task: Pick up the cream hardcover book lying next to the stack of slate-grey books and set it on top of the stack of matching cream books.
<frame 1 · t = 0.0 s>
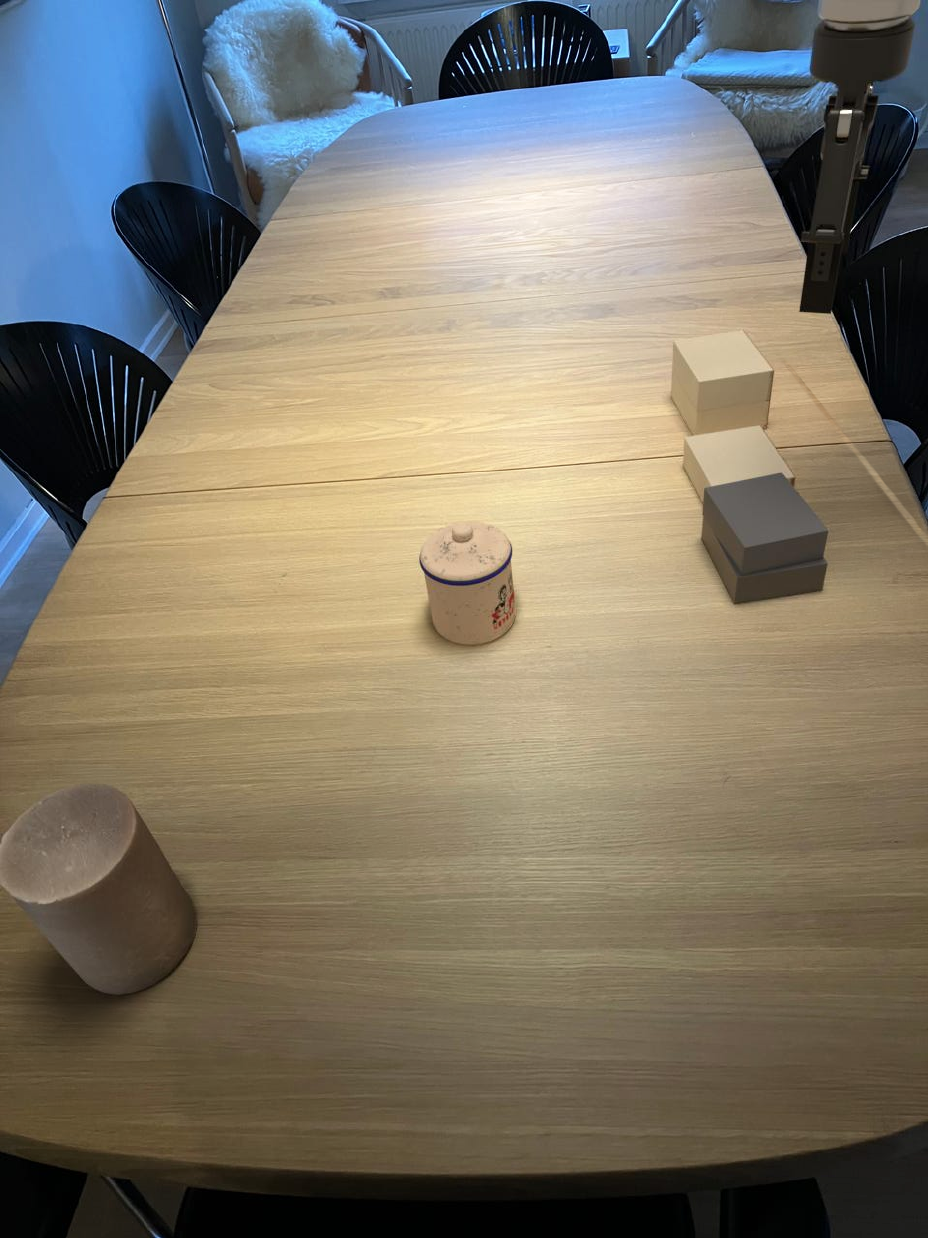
hand: (824, 279, 88), 25 cm above the table, tool pointing down, fingers open, 13 cm apart
pillar candle: (137, 938, 73), on the table
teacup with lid: (476, 609, 96), on the table
grey books: (759, 563, 96), on the table
cream books: (716, 412, 119), on the table
cream book: (734, 485, 107), on the table
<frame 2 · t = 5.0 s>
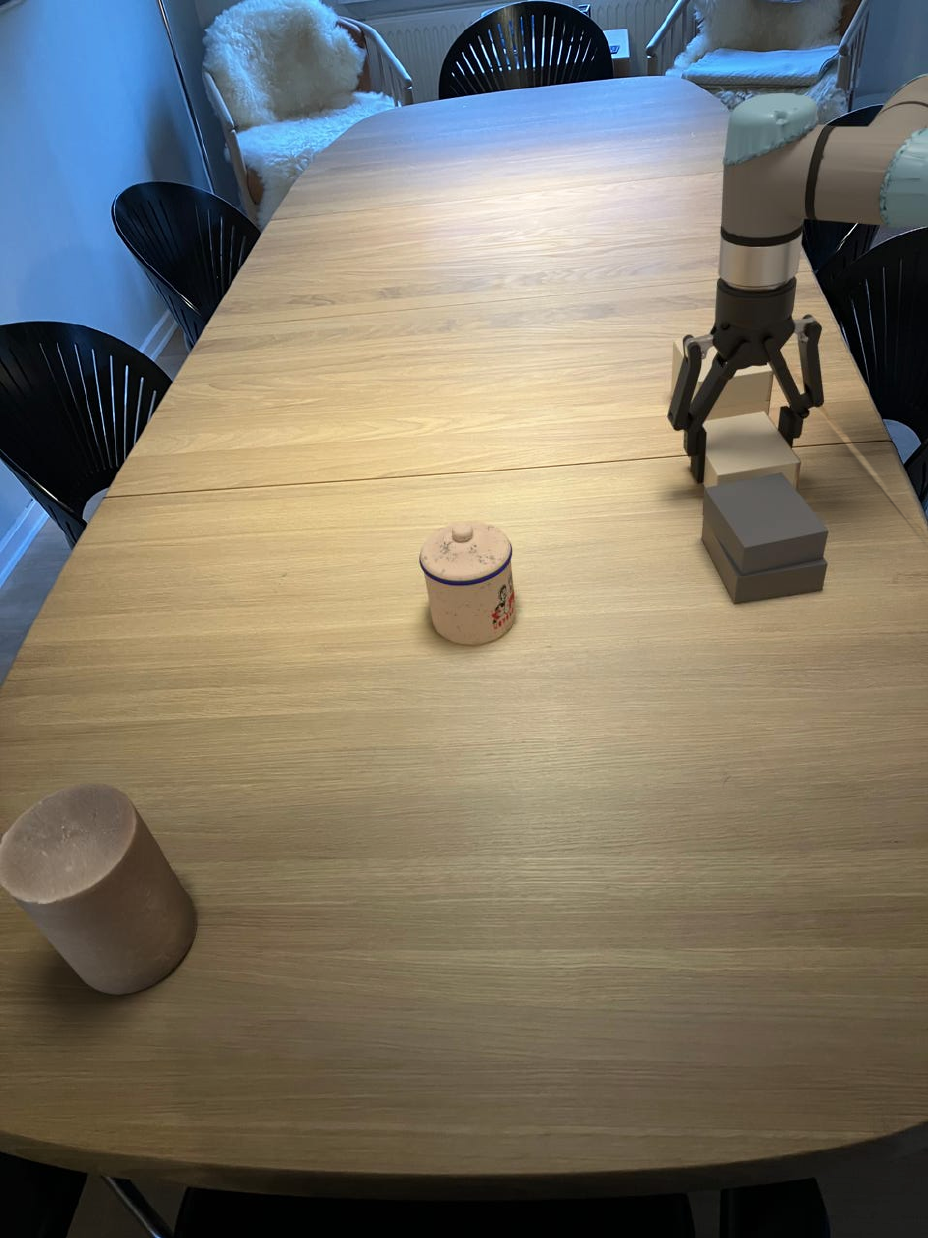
hand: (739, 469, 105), 2 cm above the table, tool pointing down, fingers closed on cream book, 9 cm apart
cream book: (738, 471, 105), point 2 cm above the table, touching gripper
everything else where it was.
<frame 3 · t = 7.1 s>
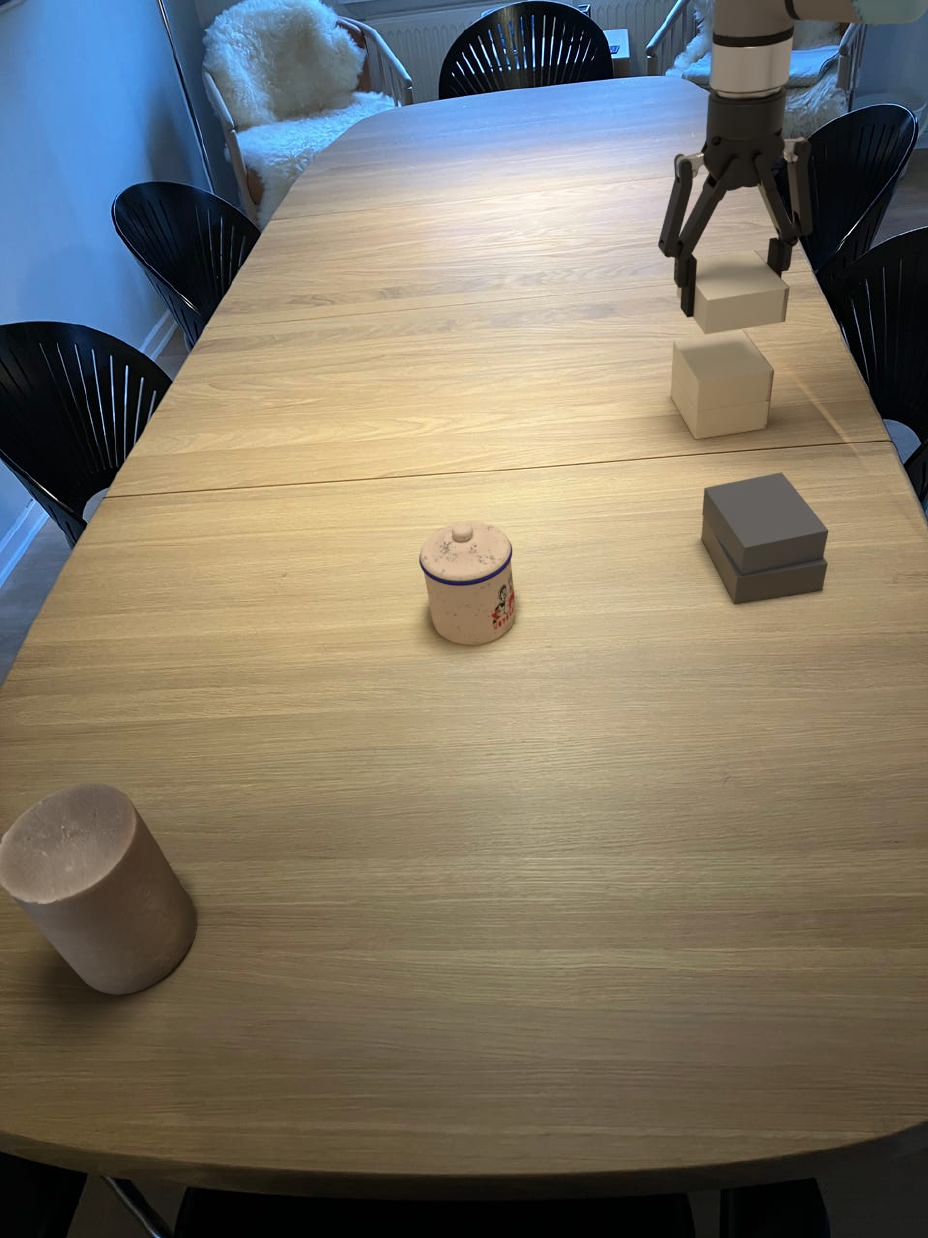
hand: (728, 305, 106), 15 cm above the table, tool pointing down, fingers closed on cream book, 9 cm apart
cream book: (728, 307, 106), point 15 cm above the table, touching gripper
everything else where it was.
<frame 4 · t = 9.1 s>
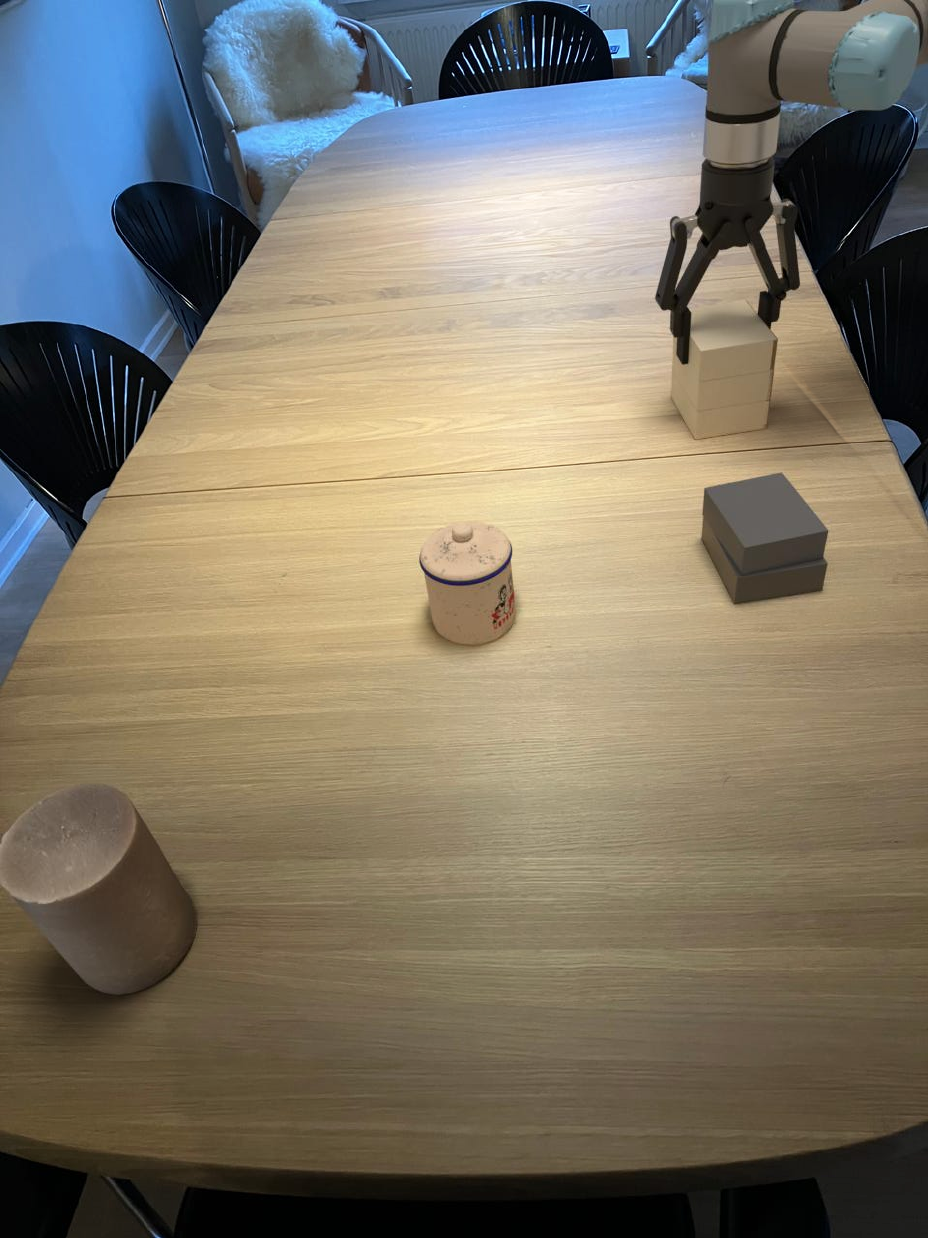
hand: (721, 352, 113), 8 cm above the table, tool pointing down, fingers closed on cream book, 9 cm apart
cream book: (721, 354, 113), point 8 cm above the table, touching cream books, gripper
everything else where it was.
when the fingers open (8 cm above the table, at t = 9.3 s): cream book stays where it is, resting on cream books.
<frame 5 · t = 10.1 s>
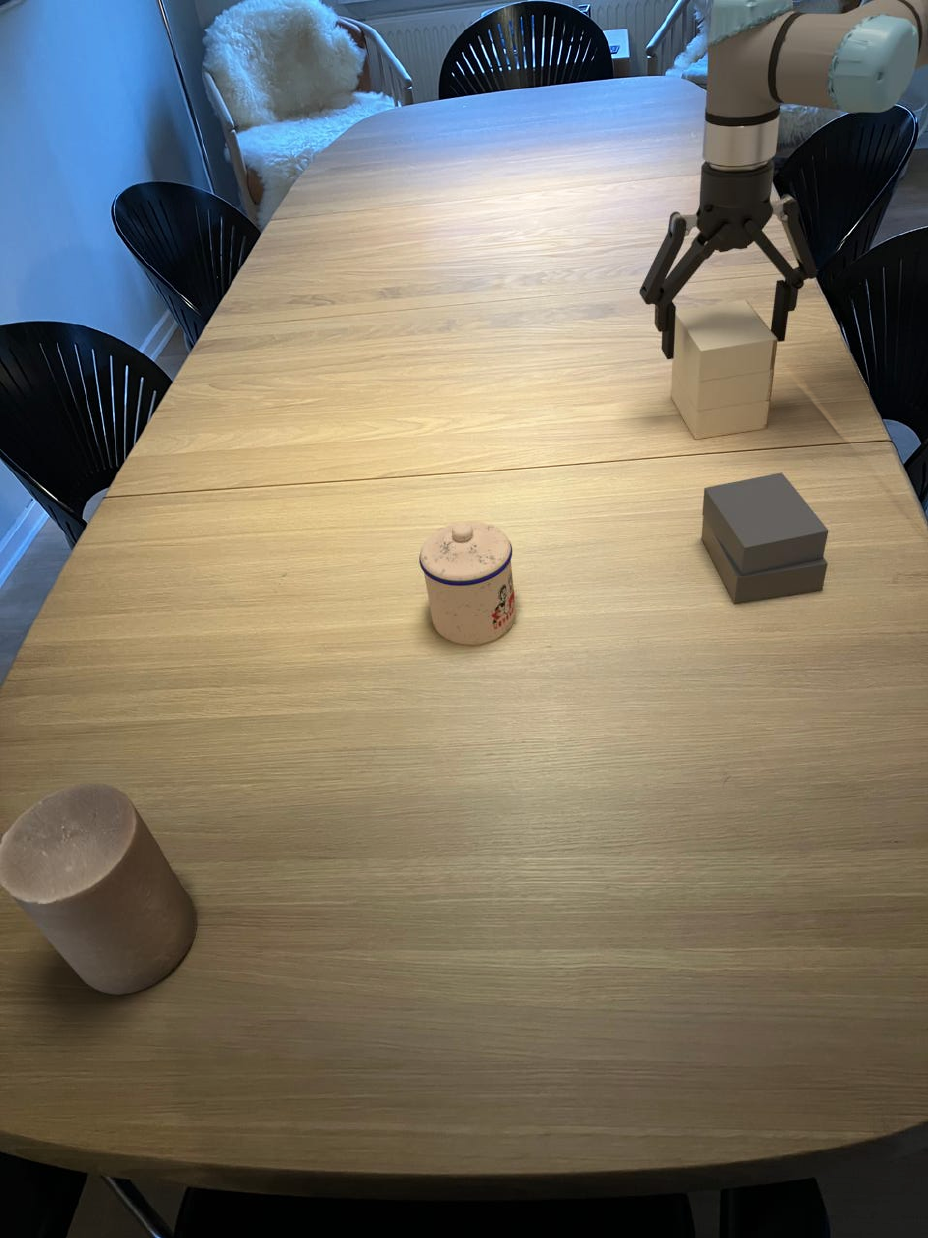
hand: (722, 345, 112), 9 cm above the table, tool pointing down, fingers open, 13 cm apart
cream book: (721, 354, 113), point 8 cm above the table, touching cream books
everything else where it was.
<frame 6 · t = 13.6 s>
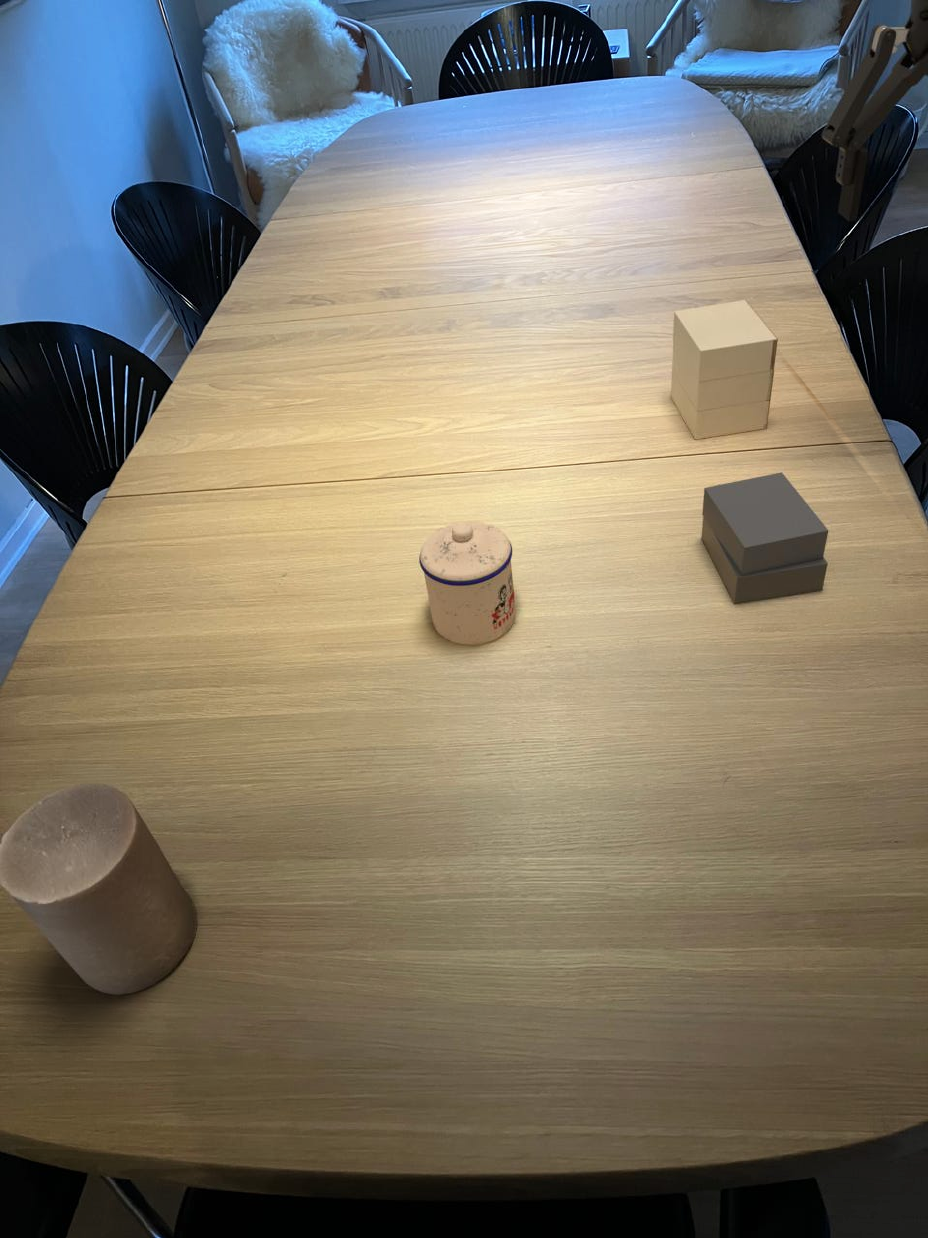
hand: (913, 206, 93), 27 cm above the table, tool pointing down, fingers open, 13 cm apart
nothing on the table moved.
at the end: cream book 0.1 cm off-centre on the cream books, point 8.0 cm above the cream books's base; cream book tilted 0°; cream book touching cream books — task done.
